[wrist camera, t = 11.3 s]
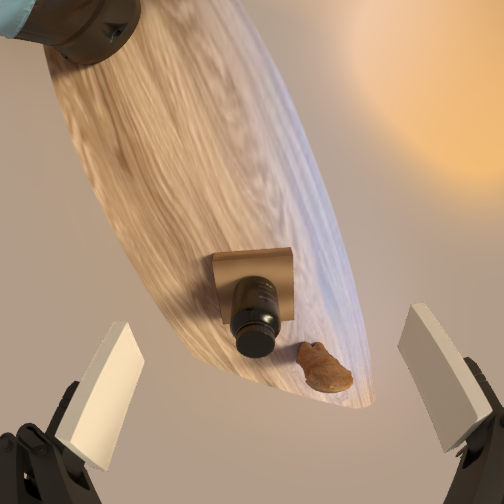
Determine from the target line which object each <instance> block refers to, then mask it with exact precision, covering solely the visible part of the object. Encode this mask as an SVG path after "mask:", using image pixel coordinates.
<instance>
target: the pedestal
mask: <svg viewBox="0 0 504 504" xmlns="http://www.w3.org/2000/svg"><path fill="white" fill-rule="evenodd" d="M212 266H213V272H214V278H215V283H216V289H217V294H218V300H219V305H220V311H221V316H222V321H223V324H230V317H231V308H232V300H233V293H234V289H235V287H236V285H237V284H238V283H239V282H240V281H241V280H242V279H244V278H246V277H250V276H261V277H264V278H267V279H268V280H270V281H271V282H272V283H273V284H274V286H275V288H276V290H277V296H278V303H279V311H280V319H281V321H289V320H294V276H293V254H292V250H291V247H288V248H275V249H261V250H248V251H234V252H221V253H214V256H213V259H212Z"/></svg>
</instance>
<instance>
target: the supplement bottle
mask: <svg viewBox="0 0 504 504" xmlns="http://www.w3.org/2000/svg"><path fill="white" fill-rule="evenodd" d="M280 329H281V319H280V311H279V303H278V296H277V290H276V288H275V286H274V284H273V283H272V282H271V281H270V280H268V279H267V278H264V277H261V276H250V277H246V278H244V279H242V280H241V281H240V282H239V283H238V284H237V285H236V287H235V289H234V293H233V300H232V308H231V317H230V330H231V333H232V335H233V336H234V337H235V338H236V347H237V350H238V351H239V352H240V353H241V354H242V355H244V356H246V357H249V358H262V357H265V356H267V355H268V354H270V353H271V352H272V351H273V349H274V347H275V338H276V337H277V336H278V334H279V332H280Z"/></svg>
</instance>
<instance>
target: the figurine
mask: <svg viewBox="0 0 504 504" xmlns="http://www.w3.org/2000/svg"><path fill="white" fill-rule="evenodd" d="M296 362H297V363H298V364H299V365H300V366H301V367H302V368H303V370H304V374H305V378H306V379H307V380H306V383H307V384H308V385H309V386H310V387H311V388H313V389H314V390H316V391H319V392H323V393H337V392H341V391H344V390H346V389H348V388H349V387H351V386H352V384H353V378H352V376H351V371H349V370H347V369H346V368H344V367H343V366H342V365H340V363H339V362H338V360H337V359H335V358H334V357H333V356H332V355H330V354H329V353H328V351H327V350H326V349H325V347H324V345H323V344H322V343H316V344H315V345H314V346H313V347H312V346H311V345H310V343H307V342H306V343H303V344H302V345H301V347H300V349H299V351H298V354H297V357H296Z"/></svg>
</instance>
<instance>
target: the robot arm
mask: <svg viewBox="0 0 504 504" xmlns="http://www.w3.org/2000/svg"><path fill="white" fill-rule="evenodd" d="M140 13H141V6H140V2H139V0H0V35H1V36H5V37H6V38H8V39H11V38H13V39H20V40H26V41H31V42H36V43H41V44H46V45H50V46H53V47H54V48H55V49H56V50H57V51H58V52H60V53H61V55H62V56H63V57H64V58H65V59H67V60H68V61H70V62H73V63H77V64H82V65H89V64H94V63H97V62H100V61H102V60H104V59H106V58H108V57H109V56H111V55H112V54H114V53H115V52H116V51H117V50H119V49H120V48H121V47H122V46H123V45H124V44H125V43H126V41H127V40H128V39H129V38H130V36H131V35H132V33H133V32H134V30H135V28H136V26H137V24H138V21H139V18H140ZM398 348H399V351H400V353H401V355H402V357H403V359H404V361H405V363H406V364H407V366H408V369H409V371H410V373H411V375H412V377H413V379H414V381H415V384H416V386H417V388H418V390H419V392H420V394H421V397H422V399H423V401H424V404H425V406H426V408H427V411H428V413H429V416H430V418H431V420H432V423H433V425H434V428H435V430H436V432H437V435H438V438H439V440H440V443H441V446H442V448H443V451H444V453H446V452H448V451H450V450H452V449H454V448H456V447H458V446H459V445H460V444H461V443H462V442H463V441H464V440H466V442H467V445H466V446H464V447H463V448H462V449H461V450H460V451H459V452H458V453H457V455H456V457H458V456H459V455H461V454H462V453H463V454H462V456H461V457H460V458H461V460H460V463H459V466H458V468H457V472H456V474H455V477H454V479H453V482H452V484H451V487H450V489H449V491H448V494H447V497H446V499H445V501H444V503H443V504H504V408H503V407H502V405H501V404H500V402H499V400H498V398H497V397H496V395H495V393H494V391H493V390H492V388H491V386H490V385H489V383H488V381H486V378H485V376H484V375H483V374H482V372H481V370H480V368H479V367H478V365H477V363H475V362H474V361H473V360H472V359H470V358H469V357H466V358H462V357H461V355H460V353H459V352H458V350H457V349H456V347H455V346H454V344H453V343H452V342H451V340H450V338H449V337H448V335H447V334H446V332H445V331H444V330H443V328H442V327H441V325H440V324H439V323H438V321H437V320H436V318H435V317H434V316H433V314H432V313H431V311H430V310H429V309H428V307H427V306H426V305H425V303H424V302H422V303H417V304H411V305H410V309H409V313H408V316H407V319H406V323H405V326H404V329H403V332H402V335H401V338H400V341H399V344H398ZM144 363H145V361H144V359H143V357H142V354H141V352H140V350H139V348H138V346H137V343H136V341H135V339H134V336H133V334H132V332H131V329H130V327H129V324H128V322H122V321H114V322H113V324H112V325H111V327H110V329H109V331H108V332H107V334H106V336H105V338H104V339H103V341H102V343H101V345H100V346H99V348H98V350H97V352H96V353H95V355H94V357H93V359H92V361H91V362H90V364H89V366H88V368H87V370H86V372H85V374H84V376H83V378H82V379H81V381H80V382H78V381H74V382H73V383H72V384H71V385H70V386H69V387H68V388H67V390H66V392H65V394H64V395H63V397H62V398H63V399H62V400H61V401H60V403H59V407H57V409H56V411H55V413H54V416H53V418H52V420H51V422H50V424H49V426H48V428H47V430H46V432H45V434H44V433H43V432H42V431H41V430H40V429H39V428H38V427H37V426H36V425H35V424H32V423H26V424H24V425H23V426H21V427H20V428H19V430H18V432H17V434H16V437H15V436H14V435H13V434H11V433H4V434H2V435H1V436H0V504H102V503H101V501H100V499H99V497H98V495H97V493H96V491H95V488H94V486H93V484H92V482H91V479H90V477H89V475H88V473H87V470H86V469H85V467H84V464H85V462H86V463H87V464H88V465H90V466H91V467H93V468H96V469H99V470H102V471H105V472H107V471H108V468H109V465H110V461H111V458H112V455H113V451H114V448H115V445H116V441H117V439H118V435H119V433H120V430H121V427H122V424H123V421H124V418H125V415H126V412H127V409H128V406H129V403H130V401H131V398H132V395H133V392H134V389H135V387H136V384H137V381H138V379H139V376H140V373H141V371H142V368H143V365H144ZM24 473H26V474H27V478H26V479H25V478H24Z"/></svg>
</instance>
